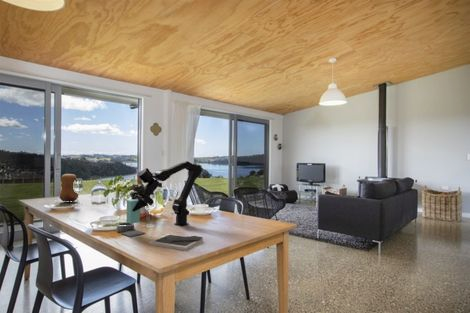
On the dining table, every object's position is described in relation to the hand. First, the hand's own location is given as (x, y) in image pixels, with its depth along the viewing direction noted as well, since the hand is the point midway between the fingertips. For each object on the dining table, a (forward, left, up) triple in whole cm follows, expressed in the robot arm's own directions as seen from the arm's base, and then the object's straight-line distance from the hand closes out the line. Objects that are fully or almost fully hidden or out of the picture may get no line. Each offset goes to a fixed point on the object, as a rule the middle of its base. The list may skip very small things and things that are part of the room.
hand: (130, 210), depth 151 cm
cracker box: (+33, -30, -13) cm, 47 cm away
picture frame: (-30, -6, -14) cm, 34 cm away
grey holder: (+11, -4, -13) cm, 17 cm away
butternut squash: (+127, -22, -13) cm, 130 cm away
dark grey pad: (-1, -1, -13) cm, 13 cm away
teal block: (0, -1, -7) cm, 7 cm away
